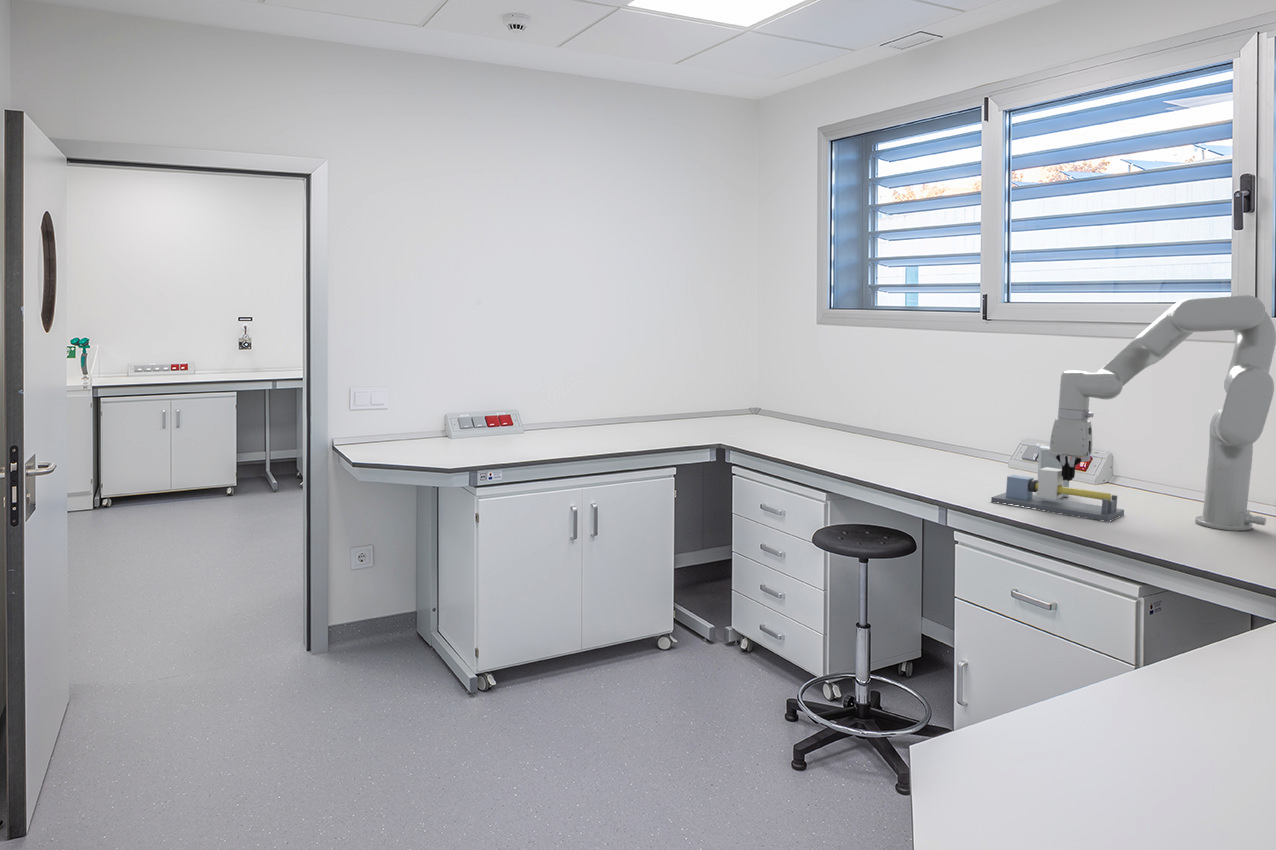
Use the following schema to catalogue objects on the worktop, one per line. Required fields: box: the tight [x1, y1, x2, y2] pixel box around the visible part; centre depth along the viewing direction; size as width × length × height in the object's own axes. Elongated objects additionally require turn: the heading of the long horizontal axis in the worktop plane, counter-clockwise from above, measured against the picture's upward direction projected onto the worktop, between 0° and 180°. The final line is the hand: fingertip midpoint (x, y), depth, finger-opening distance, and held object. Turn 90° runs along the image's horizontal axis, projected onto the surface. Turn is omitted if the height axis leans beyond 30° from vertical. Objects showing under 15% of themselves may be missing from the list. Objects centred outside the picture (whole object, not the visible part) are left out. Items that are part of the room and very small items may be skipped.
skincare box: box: [1036, 445, 1071, 498], centre depth 270 cm, size 8×6×15 cm
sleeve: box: [1036, 467, 1064, 500], centre depth 253 cm, size 5×5×8 cm
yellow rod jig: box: [990, 474, 1125, 522], centre depth 252 cm, size 32×12×8 cm, turn 44°
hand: (1067, 479), depth 250 cm, fingers closed
